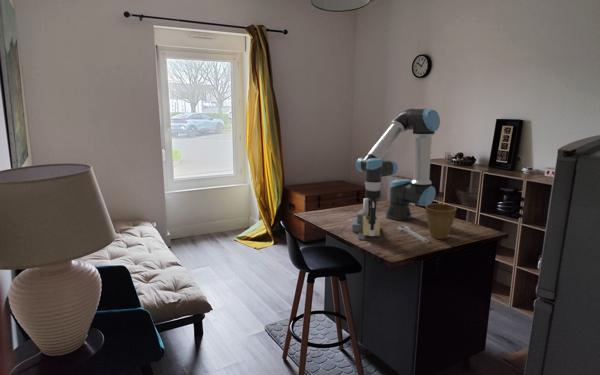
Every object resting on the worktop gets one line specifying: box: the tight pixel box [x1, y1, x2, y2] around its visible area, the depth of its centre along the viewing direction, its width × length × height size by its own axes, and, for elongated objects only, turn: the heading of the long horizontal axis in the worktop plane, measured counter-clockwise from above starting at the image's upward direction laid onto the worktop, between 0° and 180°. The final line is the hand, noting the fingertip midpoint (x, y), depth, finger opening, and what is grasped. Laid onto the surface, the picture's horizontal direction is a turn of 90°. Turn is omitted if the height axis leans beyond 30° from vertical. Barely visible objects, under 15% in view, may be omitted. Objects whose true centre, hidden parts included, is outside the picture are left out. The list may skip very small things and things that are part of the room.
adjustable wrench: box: [397, 225, 430, 244], centre depth 202 cm, size 25×6×2 cm, turn 13°
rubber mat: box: [357, 232, 385, 242], centre depth 198 cm, size 12×11×1 cm
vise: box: [351, 197, 369, 233], centre depth 209 cm, size 14×11×17 cm
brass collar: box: [362, 215, 381, 236], centre depth 197 cm, size 8×8×8 cm
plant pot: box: [424, 203, 458, 240], centre depth 198 cm, size 15×15×16 cm
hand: (370, 232), depth 198 cm, fingers closed on brass collar, 8 cm apart
